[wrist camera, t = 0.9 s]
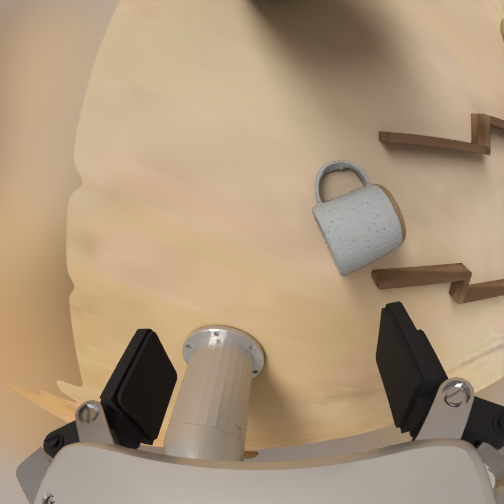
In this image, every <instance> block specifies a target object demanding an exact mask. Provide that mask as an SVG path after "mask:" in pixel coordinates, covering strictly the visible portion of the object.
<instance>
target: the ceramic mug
mask: <svg viewBox="0 0 504 504" xmlns="http://www.w3.org/2000/svg"><path fill="white" fill-rule="evenodd" d="M345 168H349V169H351V170H353V171H355V172H356V173H357V175H358V176H359V177H360V178H361V180H362V181H363V183H364V185H365V186H364V187H362V188H359V189H357V190H354V191H351V192H349V193H348V194H345V195H342V196H339V197H337V198H334V199H332V200H329V201H327V202H322V201H321V199H320V194H319V182H320V179H321V177H322V176H323V175H324V174H325V173H329V172H331V171H334V170H339V169H340V170H344V169H345ZM315 195H316V200H317V203H318V204H317V205H316V206H315V207H313V208H312V212H313V215H314V217H315V220H316V222H317V224H318V227H319V229H320V232H321V234H322V236H323V239H324V240H325V243H326V245H327V247H328V250H329V252H330V254H331V256H332V259H333V260H334V263H335V265H336V267H337V269H338V271H339V273H340V274H341V276H346V275H348V274H350V273H352V272H353V271H355V270H357V269H359V268H361V267H363V266H365V265H367V264H369V263H371V262H373V261H375V260H376V259H378V258H380V257H382V256H384V255H386V254H388V253H390V252H391V251H393V250H395V249H396V248H397V247H398V246H400V245H401V244H402V243H403V242H404V239H405V235H406V228H405V223H404V219H403V216H402V213H401V211H400V209H399V206H398V205H397V203H396V201H395V199H394V198H393V196H392V195H391V193H390V192H389V191H388V190H387V189H386V188H385V187H383V186H381V185H378V184H374V185H372V184H370V182H369V179H368V178H367V175H366V174H365V173H364V171H363V170H362V169H361V168H360V167H359V166H357V165H356V164H354V163H351V162H348V161H343V160H342V161H334V162H331V163H328V164H327V165H325V166H323V167H322V168H321V170H320V171H319V172H318V174H317V177H316V180H315Z"/></svg>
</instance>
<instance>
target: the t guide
mask: <svg viewBox="0 0 504 504" xmlns="http://www.w3.org/2000/svg"><path fill="white" fill-rule="evenodd" d="M490 126H493V127H496V128H499V129H503V130H504V120H501V119H498V118H495V117H492V116H489V115H486V114H474V113H471V130H472V143H468V142H462V141H456V140H450V139H444V138H437V137H430V136H422V135H413V134H403V133H392V132H379V140H380V141H386V142H394V143H407V144H417V145H427V146H435V147H443V148H450V149H457V150H464V151H470V152H475V153H481V154H486V155H490ZM471 275H472V273H471V272H470V271H469V270H468V269H467V268H466V267H465V266H464V265H463V264H462V263H457V264H445V265H433V266H421V267H408V268H394V269H380V270H372V278H373V280H374V282H375V284H376V286H377V287H378V289H388V288H399V287H409V286H419V285H428V284H437V283H446V282H452V284H451V287H450V291H449V294H450V295H451V296H452V297H453V299H454V300H455V301H456V302H457V304H461V303H467V302H472V301H477V300H483V299H487V298H492V297H497V296H502V295H504V279H502V280H496V281H490V282H484V283H477V284H471V285H469V282H470V278H471Z"/></svg>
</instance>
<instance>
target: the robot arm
mask: <svg viewBox="0 0 504 504" xmlns="http://www.w3.org/2000/svg"><path fill="white" fill-rule="evenodd" d="M183 357H184V359H185V362H186V363H187V365H188V366H187V369H186V372H185V375H184V378H183V381H182V384H181V387H180V390H179V393H178V396H177V399H176V402H175V406H174V409H173V412H172V415H171V418H170V421H169V424H168V428H167V431H166V434H165V438H164V452H165V455H163V454H157V453H152V452H146V451H141V449H140V447H139V446H140V443H143V444H149V445H152V444H153V441H154V440H155V439H157V437H158V434H159V431H160V428H161V425H162V422H163V419H164V416H165V413H166V410H167V407H168V404H169V401H170V398H171V395H172V392H173V389H174V387H175V384H176V381H177V373H176V371H175V369H174V367H173V365H172V363H171V361H170V360H169V358H168V356H167V354H166V352H165V350H164V348H163V346H162V344H161V342H160V340H159V338H158V336H157V334H156V333H155V332H153V331H152V330H151V329H138V330H137V331H136V333H135V335H134V336H133V338H132V340H131V342H130V343H129V345H128V347H127V348H126V350H125V352H124V354H123V356H122V357H121V359H120V361H119V363H118V364H117V366H116V368H115V370H114V372H113V374H112V375H111V377H110V379H109V381H108V383H107V385H106V387H105V388H104V390H103V392H102V394H101V396H100V399H101V402H100V403H99V402H98V401H95V400H90V401H86V402H84V403H83V404H81V405H80V406H79V408H78V409H77V411H76V414H75V421H73V422H71V423H69V424H67V425H65V426H63V427H61V428H59V429H57V430H55V431H53V432H51V433H49V434H48V435H47V436H46V438H45V440H44V444H43V445H44V446H43V447H44V448H41V447H40V448H39V449H38V450H37V451H35V452H34V453H33V454H32V455H30V456H29V457H28V458H27V459H26V460H25V461H23V462H22V463H21V464H20V465H19V466H18V468H17V471H16V475H17V478H18V481H19V483H20V485H21V487H22V489H23V491H24V493H25V495H26V497H27V499H28V501H29V502H30V504H504V406H501V405H498V404H495V403H492V402H489V401H487V400H484V399H481V398H478V397H476V396H474V389H473V387H472V385H471V384H470V383H469V382H468V381H467V380H465V379H462V378H457V377H455V378H450V379H448V377H447V375H446V373H445V371H444V369H443V367H442V365H441V363H440V361H439V359H438V357H437V355H436V353H435V352H434V350H433V348H432V346H431V344H430V342H429V340H428V339H427V337H426V335H425V333H424V332H423V331H422V330H421V329H420V330H417V329H416V327H415V326H414V324H413V322H412V320H411V319H410V317H409V315H408V313H407V311H406V310H405V308H404V306H403V305H402V303H401V302H400V301H398V302H393V303H388V304H386V307H385V308H382V311H381V320H380V329H379V336H378V344H377V351H376V362H377V365H378V369H379V372H380V375H381V378H382V381H383V384H384V388H385V391H386V394H387V398H388V401H389V405H390V408H391V412H392V415H393V419H394V423H395V426H396V427H397V428H398V427H400V429H401V433H404V432H408V431H409V432H410V436H411V437H413V438H412V440H411V441H410V442H406V443H401V444H397V445H392V446H387V447H383V448H378V449H373V450H369V451H364V452H358V453H352V454H346V455H340V456H333V457H325V458H318V459H307V460H296V461H277V462H243V458H244V449H245V440H246V431H247V421H248V412H249V403H250V393H251V384H252V379H253V378H255V377H256V376H257V375H258V374H259V373H260V372H261V370H262V368H263V366H264V353H263V350H262V348H261V346H260V345H259V343H258V342H257V341H256V340H255V339H254V338H253V337H251V336H250V335H248V334H247V333H245V332H243V331H241V330H238V329H235V328H232V327H226V326H206V327H203V328H199V329H197V330H195V331H193V332H192V333H191V334H190V335H189V336H188V337H187V339H186V340H185V343H184V346H183ZM484 463H485V464H486V465H487V466H489V469H488V470H489V471H490V472H492V473H493V475H494V476H495V481H496V482H495V487H494V489H492V485H491V481H490V478H489V475H488V472H487V469H486V467H485V464H484Z"/></svg>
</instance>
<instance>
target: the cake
mask: <svg viewBox="0 0 504 504" xmlns="http://www.w3.org/2000/svg"><path fill="white" fill-rule="evenodd" d="M501 33H502V38H503V40H504V19H503V20H502V22H501Z"/></svg>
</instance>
